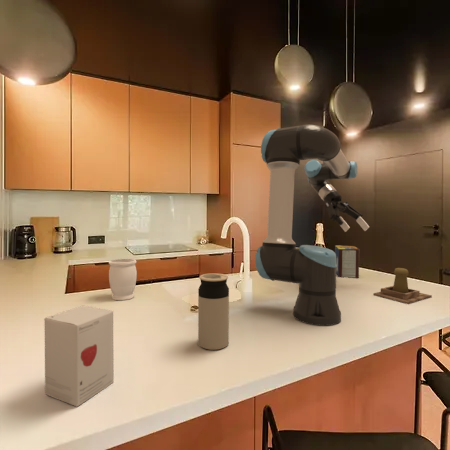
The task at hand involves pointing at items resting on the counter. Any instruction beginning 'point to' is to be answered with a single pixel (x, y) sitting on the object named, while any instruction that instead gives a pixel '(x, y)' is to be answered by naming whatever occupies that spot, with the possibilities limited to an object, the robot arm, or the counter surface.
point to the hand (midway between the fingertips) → (357, 229)
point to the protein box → (347, 261)
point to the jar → (122, 278)
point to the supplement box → (78, 353)
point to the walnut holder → (402, 295)
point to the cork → (401, 280)
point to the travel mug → (213, 311)
